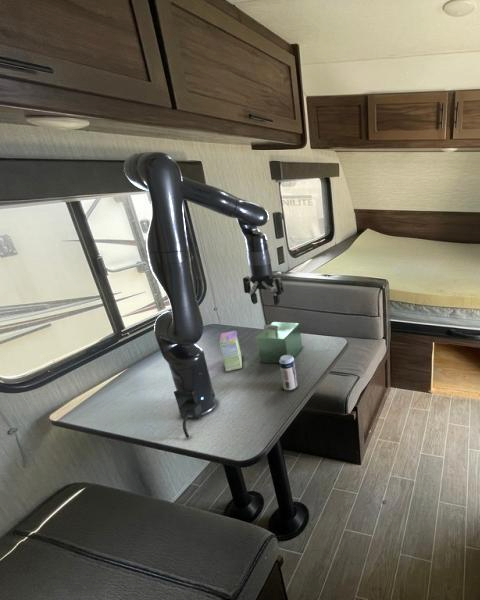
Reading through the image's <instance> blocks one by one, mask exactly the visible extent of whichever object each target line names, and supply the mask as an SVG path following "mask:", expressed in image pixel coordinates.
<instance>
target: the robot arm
mask: <svg viewBox="0 0 480 600" xmlns="http://www.w3.org/2000/svg"><path fill="white" fill-rule="evenodd" d="M123 172H124V175H125V176H126V177H127V179H128V180H129V182H130V183H132V184H133V185H134V186H135V187H137V188H139V189H141V190H144V191H148V193H149V198H150V204H151V219H150V223H149V226H148V230H147V235H146V241H145V242H146V243H145V247H146V251H147V252H146V253H147V258H148V264H149V268H150V270H151V272H152V275H153V276H154V278H155V279H156V281H157V283H158V284H159V286H160V287H161V289H162V290H163V292H164V293H165V295H166V297H167V299H168V302H169V306H170V310H168V311H164V312H162V313H161V314H160V315H158V316H157V318H156V319H155V322H154V327H153V331H154V332H153V333H154V336H155V339H156V342H157V345H158V349H159V351H160V354H161V355H162V357H163V359H164V360H165V361H166V363H167V364H168V367H169V370H170V374H171V377H172V380H173V383H174V387H175V390H174V391H173V395H174V398H175V400H176V404H177V408H178V411H179V414H180V417H181V418H183V421H182V430H183V434H184V436H185V438H187V439H188V438H189V437H190V435H189V433H188V432H189V431H188V430H187V420H188V419H201V417H203V416H205V415H207V414H209V413H211V412H212V411H213V410H214V409H216V407H217V404H218V402H217V398H216V392H215V391H214V387H213V383H212V379H211V375H210V372H209V371H210V370H209V368H208V367H209V366H208V362H207V359H206V355H205V352H204V350H203V348H201V347H200V345H198V344H197V343H198V342H199V341H200V340H201V338H202V336H203V333H204V321H203V317H202V313H201V310H200V306H199V303H198V297H197V294H196V289H195V282H194V277H193V271H192V270H193V269H192V261H191V255H190V247H189V243H188V237H187V229H186V228H187V227H186V222H185V214H184V201H187V202H189V203H192V204H194V205H197V206H200V207H203V208H204V209H208V210H210V211H212V212H215V213H217V214H219V215H222V216H224V217H228V218H231V219H236V221H237V224H238V226H239V229H240V231H241V234H242V235H243V238H244V241H245V249H246V258H247V264H248V269H249V275H247V276H244V277H243V278H242V282H243V291H244V293H245V294H249V297H250V301H251V303H252V304H253V305H256V304H258V301H259V300H258V295H257V293H256V292H257V291H258V290H265V291H266V290H268V292H269V293H271V294H272V295H273V296H272V298H273V305H275V306H278V305H279V304H280V302H281V300H280V299H281V298H280V295H282V294H283V293H284V290H285V289H284V285H283V279H282V277H281V276H279V277H277V278H276V277H273V268H272V259H271V254H270V250H269V245H268V237H267V235H266V234H265V233H264V232H261V231H260V230H259V229H258V227H263V226H265V225H266V224H267V223H268V222H269V213H268V211H267V210H266V209H265V207H264V206H262V205H261V204H258V203H255V202H252V201H250V200H246V199H243V198H240V197H237V196H236V195H233V194H231V193H230V192H228V191H226V190H223V189H221V188H218V187H217V186H216V187H215V186H213V185H211V184H206V183H202V182H199V181H196V180H193V179H190V178H188V177H185V176H183V175H182V171H181V168H180V165H179V164H178V162H177V161H176V160H175V158H173V157H172V156H171V155H170V154H168V153H165V152H162V151H147V152H145V151H144V152H138V153H134V154H131V155H129V156H127V158H126V159H125V160H124V164H123ZM251 283H252V284H253V285H252V287H251Z"/></svg>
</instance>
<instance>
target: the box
mask: <svg viewBox="0 0 480 600" xmlns="http://www.w3.org/2000/svg"><path fill="white" fill-rule="evenodd" d="M218 345H219V349H220V353H221V357H222V361H223V366H224V370H225V372H230V371H235V370H238V369H242V368H243V367H242V366H243V361H242V358H243V357H242V351H241V346H240V342H239V337H238V333H237V330H231V331H226V332H221V333H220V337H219V344H218Z"/></svg>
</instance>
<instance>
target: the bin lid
mask: <svg viewBox="0 0 480 600" xmlns="http://www.w3.org/2000/svg"><path fill="white" fill-rule="evenodd" d="M299 325H300V322H285V321H284V322H283V321H273V322H271V323H270V324H264V325H263V330H262V331H261V332H259V333H258V334H257V336H255V337H254V338H255V340H257V339H262V340H279V341H285V339H286V338H287V337H288V336H289V335H290V334H291V333H292V332H293V331H294V330H295V329H296V328H297V327H298V326H299Z"/></svg>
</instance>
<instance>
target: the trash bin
mask: <svg viewBox="0 0 480 600" xmlns="http://www.w3.org/2000/svg"><path fill="white" fill-rule="evenodd" d="M256 342H257V346H258V353H259V358H260V363H267V364H280V363H279V361H280V358H281V357H282V356H284V355H291V356H292V357H293V358H294V359H295V357H296V356H297V355H298V353H299V352H300V350H302V348H303V343H302V334H301V327H300V324H299V326H298V327H297V328H296V329H295V330H294V331H293V332H292V333H291V334H290V335H289V336H288V337H287V338H286V339H285V341H279V340H262V339H256Z"/></svg>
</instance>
